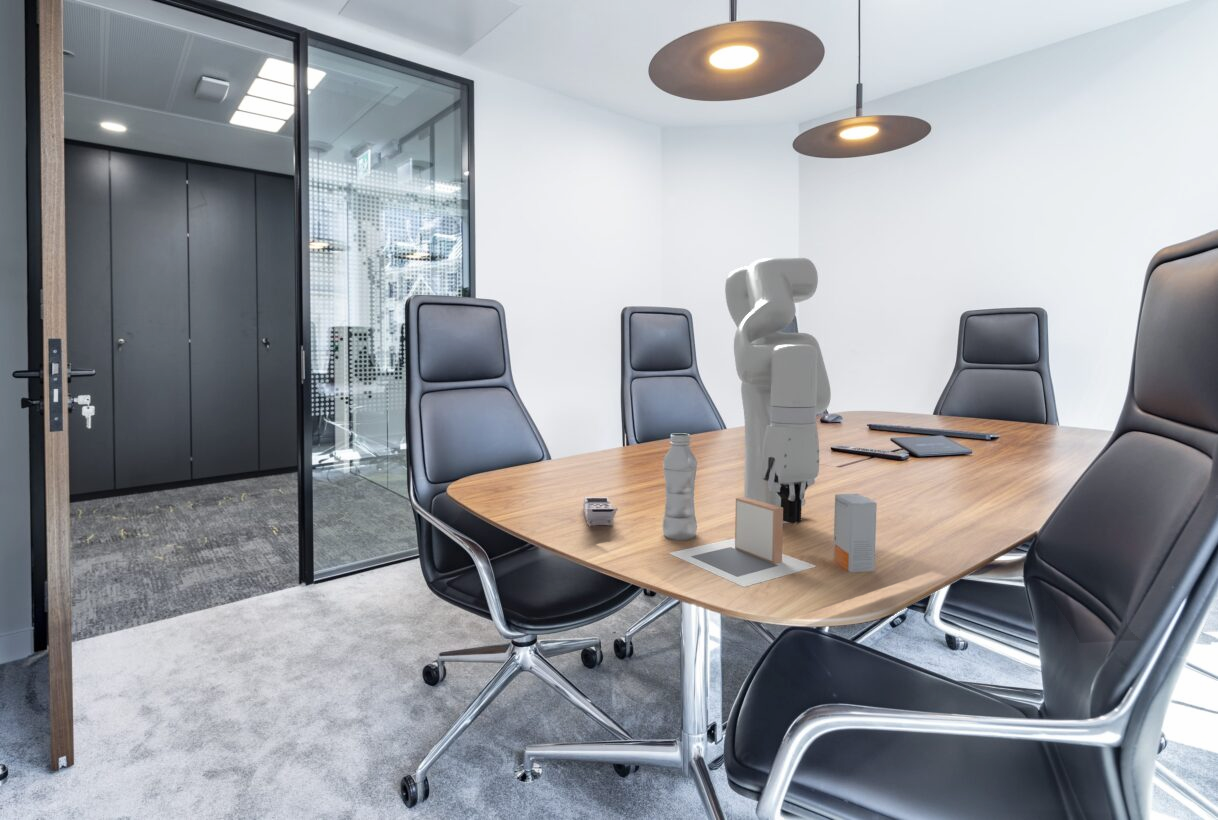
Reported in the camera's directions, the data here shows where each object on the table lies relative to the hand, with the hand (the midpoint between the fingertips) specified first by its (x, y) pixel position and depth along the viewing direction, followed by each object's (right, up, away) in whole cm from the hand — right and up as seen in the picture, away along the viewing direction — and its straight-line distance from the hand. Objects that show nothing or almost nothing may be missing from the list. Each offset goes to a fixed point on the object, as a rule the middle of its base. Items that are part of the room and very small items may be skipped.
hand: (790, 521), depth 107 cm
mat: (-10, -6, -5) cm, 13 cm away
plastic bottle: (-18, -5, +8) cm, 21 cm away
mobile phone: (-34, -4, +23) cm, 41 cm away
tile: (-7, -5, -3) cm, 9 cm away
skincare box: (+8, -7, -8) cm, 13 cm away
